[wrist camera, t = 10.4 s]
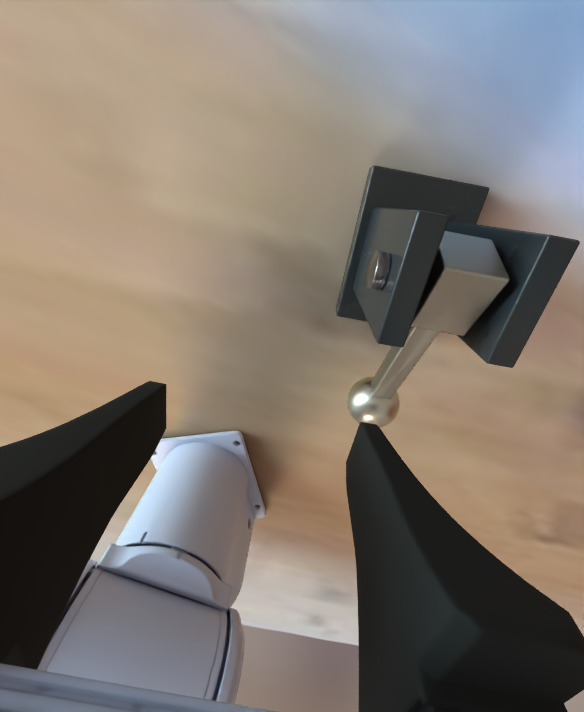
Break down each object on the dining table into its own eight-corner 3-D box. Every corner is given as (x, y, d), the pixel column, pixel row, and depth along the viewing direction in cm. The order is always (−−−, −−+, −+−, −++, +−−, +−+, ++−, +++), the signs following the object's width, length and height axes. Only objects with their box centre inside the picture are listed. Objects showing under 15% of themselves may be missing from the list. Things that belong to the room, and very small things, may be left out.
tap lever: (387, 397, 21) (390, 440, 20) (342, 389, 21) (341, 431, 19) (501, 236, 12) (527, 288, 10) (422, 221, 12) (434, 271, 10)
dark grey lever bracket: (427, 327, 21) (504, 412, 12) (335, 310, 21) (350, 384, 12) (479, 188, 17) (636, 176, 9) (369, 167, 17) (422, 134, 9)
